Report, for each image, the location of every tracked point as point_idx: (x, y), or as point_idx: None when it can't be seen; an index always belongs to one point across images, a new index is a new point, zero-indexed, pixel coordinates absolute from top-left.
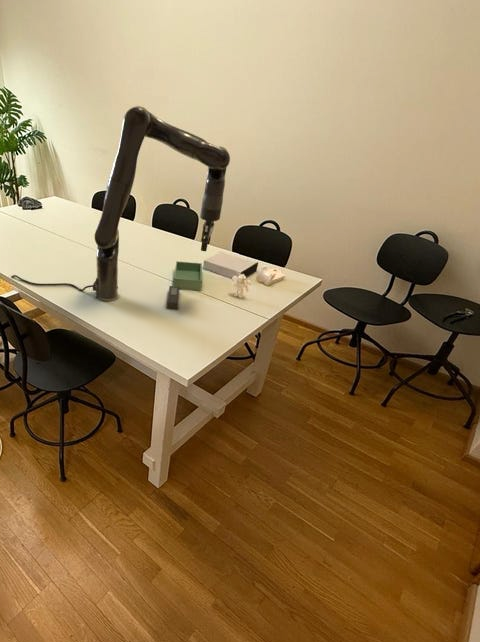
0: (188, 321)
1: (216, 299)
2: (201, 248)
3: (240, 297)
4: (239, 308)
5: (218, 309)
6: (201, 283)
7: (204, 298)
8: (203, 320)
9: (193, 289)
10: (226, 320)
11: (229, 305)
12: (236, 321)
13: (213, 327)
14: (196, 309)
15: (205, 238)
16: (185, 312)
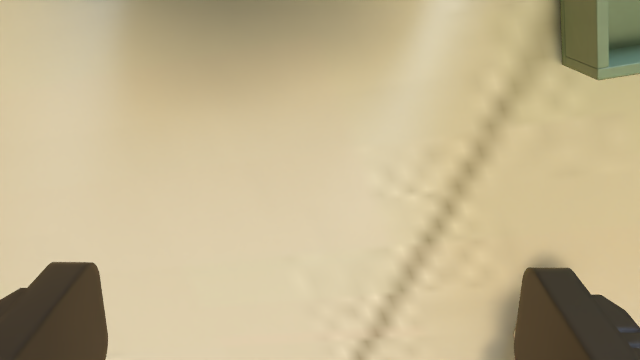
0: (57, 58)
1: (445, 194)
2: (35, 288)
3: (514, 336)
4: (365, 337)
5: (303, 222)
6: (586, 73)
7: (435, 112)
8: (118, 151)
9: (561, 4)
10: (183, 280)
11: (384, 280)
12: (196, 331)
13: (64, 219)
14: (245, 82)
15: (568, 344)
16: (168, 13)
